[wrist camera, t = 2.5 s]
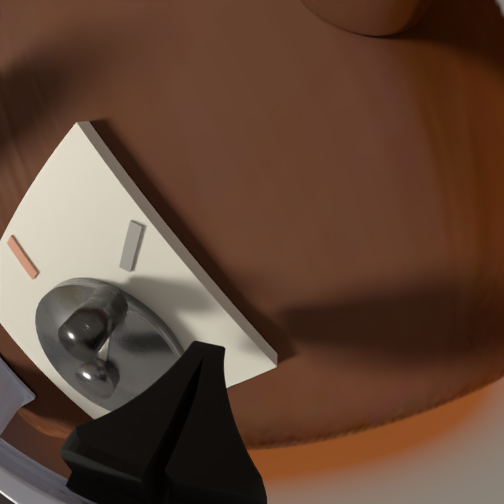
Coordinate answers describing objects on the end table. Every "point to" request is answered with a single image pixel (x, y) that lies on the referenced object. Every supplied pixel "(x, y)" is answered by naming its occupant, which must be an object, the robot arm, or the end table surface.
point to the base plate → (112, 260)
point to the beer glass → (370, 14)
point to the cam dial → (104, 341)
